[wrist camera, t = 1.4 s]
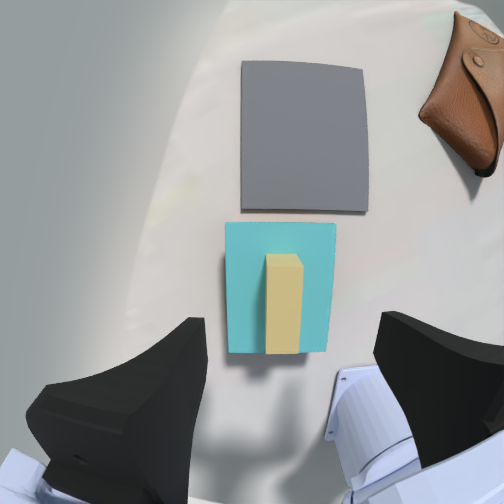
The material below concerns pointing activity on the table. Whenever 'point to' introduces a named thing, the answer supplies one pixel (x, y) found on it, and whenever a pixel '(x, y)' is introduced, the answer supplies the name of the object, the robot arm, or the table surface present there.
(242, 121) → the mat
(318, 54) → the table surface
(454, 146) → the sunglasses case
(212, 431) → the table surface
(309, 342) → the lid
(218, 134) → the table surface
